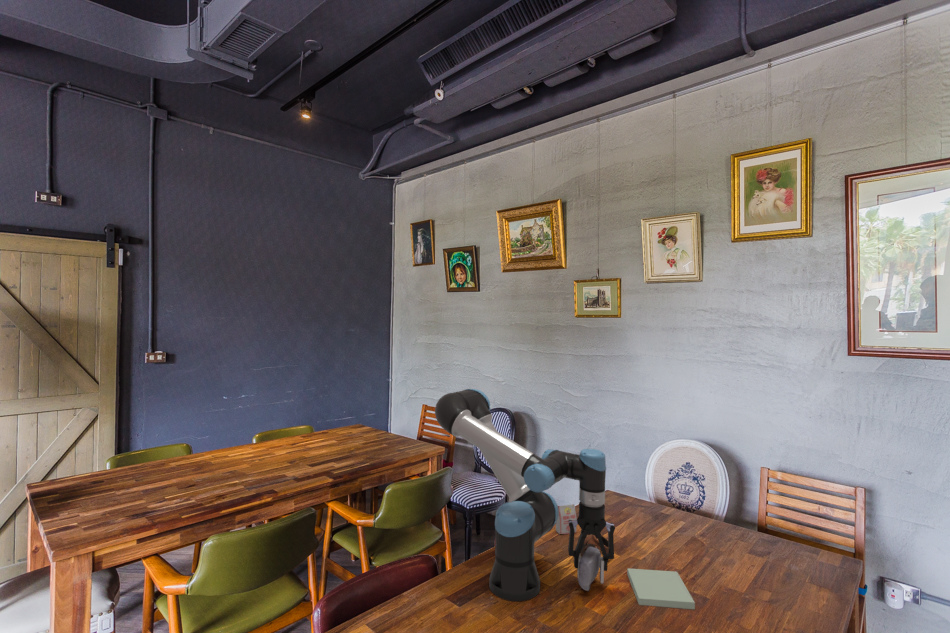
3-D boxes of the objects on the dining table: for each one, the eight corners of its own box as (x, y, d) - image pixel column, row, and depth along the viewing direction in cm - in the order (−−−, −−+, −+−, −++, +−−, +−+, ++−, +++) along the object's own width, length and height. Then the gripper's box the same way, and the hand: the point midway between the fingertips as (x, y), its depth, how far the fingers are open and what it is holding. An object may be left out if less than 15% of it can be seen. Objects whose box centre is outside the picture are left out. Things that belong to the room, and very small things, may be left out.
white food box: (555, 530, 177) (555, 504, 177) (571, 528, 179) (571, 502, 179) (560, 535, 174) (560, 508, 174) (576, 532, 176) (576, 506, 176)
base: (638, 605, 131) (638, 598, 131) (627, 574, 147) (627, 568, 147) (694, 609, 129) (694, 602, 129) (677, 578, 145) (677, 571, 145)
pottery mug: (584, 547, 164) (596, 528, 164) (606, 568, 159) (618, 548, 158) (570, 553, 155) (582, 533, 154) (592, 575, 149) (606, 554, 148)
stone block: (582, 572, 146) (589, 542, 146) (597, 579, 144) (604, 549, 143) (570, 589, 136) (578, 557, 135) (585, 598, 134) (594, 565, 133)
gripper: (560, 505, 137) (559, 584, 137) (626, 510, 135) (625, 589, 135) (559, 495, 144) (557, 570, 144) (621, 499, 142) (620, 575, 142)
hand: (590, 579), depth 140 cm, fingers open, 6 cm apart
